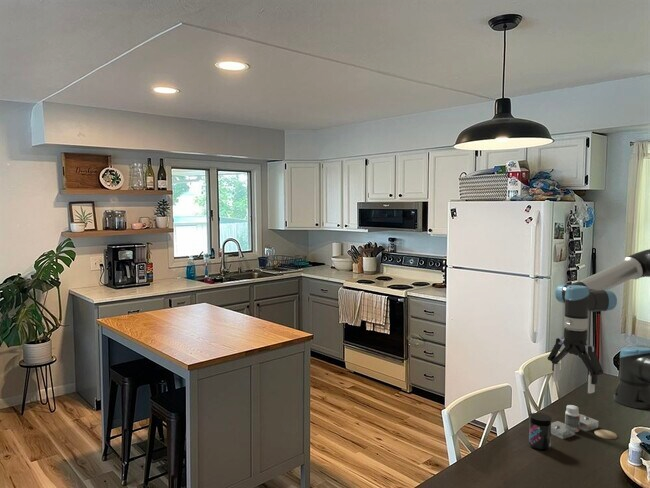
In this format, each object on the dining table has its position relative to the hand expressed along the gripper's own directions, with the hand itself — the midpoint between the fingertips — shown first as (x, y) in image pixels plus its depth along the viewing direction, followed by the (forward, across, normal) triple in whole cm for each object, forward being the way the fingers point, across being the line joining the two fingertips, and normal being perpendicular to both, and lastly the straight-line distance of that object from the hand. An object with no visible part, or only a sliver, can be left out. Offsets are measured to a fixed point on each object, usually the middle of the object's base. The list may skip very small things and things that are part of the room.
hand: (573, 386), depth 179 cm
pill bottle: (+16, 0, 0) cm, 16 cm away
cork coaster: (+16, +8, +7) cm, 19 cm away
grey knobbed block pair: (+16, 0, 0) cm, 16 cm away
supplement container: (+16, +4, -22) cm, 27 cm away
